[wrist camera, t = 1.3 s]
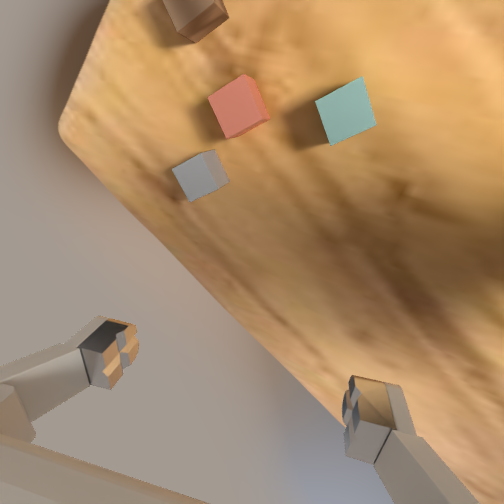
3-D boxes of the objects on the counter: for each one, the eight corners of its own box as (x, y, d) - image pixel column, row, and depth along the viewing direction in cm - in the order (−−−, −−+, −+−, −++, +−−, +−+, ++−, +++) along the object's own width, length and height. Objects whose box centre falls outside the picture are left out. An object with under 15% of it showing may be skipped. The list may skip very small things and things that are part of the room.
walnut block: (209, -31, 31) (190, -56, 26) (229, 18, 32) (214, 2, 28) (176, -2, 33) (152, -21, 28) (196, 43, 34) (177, 32, 30)
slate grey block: (214, 149, 39) (200, 153, 35) (230, 181, 41) (218, 188, 36) (188, 163, 41) (171, 169, 37) (203, 193, 43) (189, 202, 38)
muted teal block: (357, 81, 32) (362, 76, 27) (370, 124, 33) (376, 125, 29) (316, 103, 34) (314, 101, 29) (330, 142, 35) (330, 146, 31)
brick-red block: (254, 79, 34) (243, 73, 30) (270, 119, 36) (262, 119, 31) (221, 99, 36) (207, 97, 32) (238, 136, 38) (226, 138, 33)
